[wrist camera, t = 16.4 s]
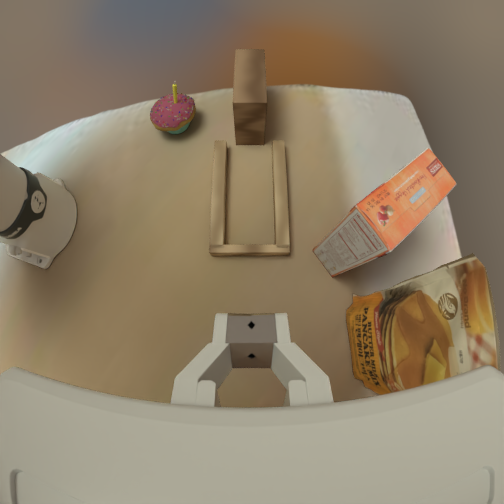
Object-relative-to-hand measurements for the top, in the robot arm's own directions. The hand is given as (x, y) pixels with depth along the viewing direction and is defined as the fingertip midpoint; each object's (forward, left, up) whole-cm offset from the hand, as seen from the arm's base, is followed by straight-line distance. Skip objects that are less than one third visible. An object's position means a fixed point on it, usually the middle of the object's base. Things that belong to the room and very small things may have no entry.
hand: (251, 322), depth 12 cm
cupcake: (-14, +34, -32) cm, 49 cm away
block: (0, +36, -31) cm, 48 cm away
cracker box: (+17, +11, -32) cm, 38 cm away
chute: (0, +19, -31) cm, 36 cm away
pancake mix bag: (+19, -6, -32) cm, 37 cm away
